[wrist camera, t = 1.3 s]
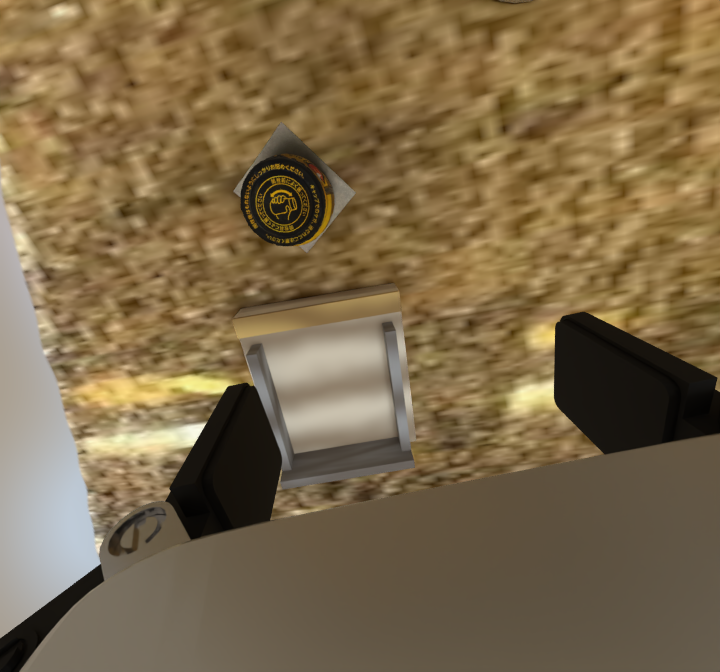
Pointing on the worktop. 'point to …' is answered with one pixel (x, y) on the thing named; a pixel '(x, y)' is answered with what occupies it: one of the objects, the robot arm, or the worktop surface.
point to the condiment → (291, 193)
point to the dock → (333, 382)
